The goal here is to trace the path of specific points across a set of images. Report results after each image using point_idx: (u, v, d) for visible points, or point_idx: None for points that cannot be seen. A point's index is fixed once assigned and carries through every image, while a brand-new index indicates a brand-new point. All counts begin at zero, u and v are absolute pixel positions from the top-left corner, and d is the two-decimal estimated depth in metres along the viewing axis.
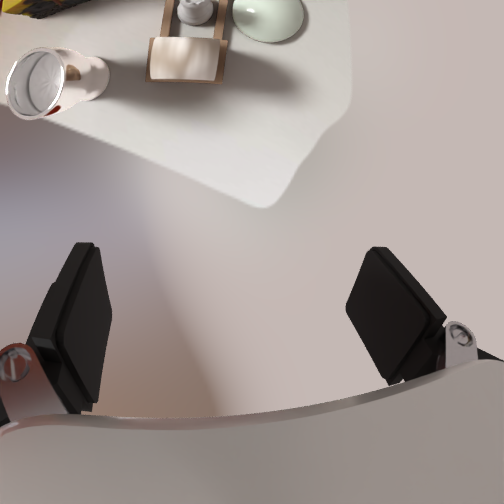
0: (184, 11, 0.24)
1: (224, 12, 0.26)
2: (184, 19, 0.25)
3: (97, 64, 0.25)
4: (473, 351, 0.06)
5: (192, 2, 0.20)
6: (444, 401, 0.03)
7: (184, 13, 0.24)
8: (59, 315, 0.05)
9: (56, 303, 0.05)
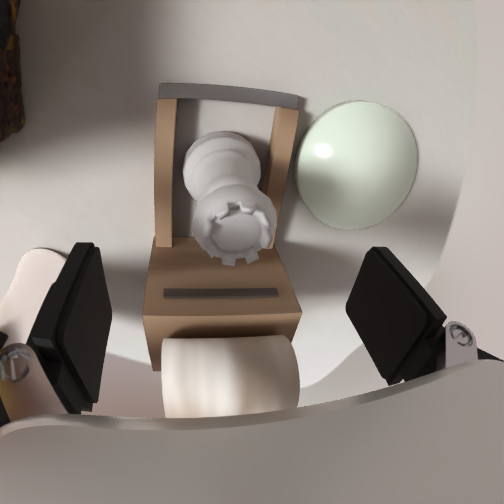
0: None
1: (283, 180, 0.17)
2: None
3: None
4: (473, 351, 0.06)
5: (230, 257, 0.11)
6: (444, 401, 0.03)
7: None
8: (59, 315, 0.05)
9: (56, 303, 0.05)
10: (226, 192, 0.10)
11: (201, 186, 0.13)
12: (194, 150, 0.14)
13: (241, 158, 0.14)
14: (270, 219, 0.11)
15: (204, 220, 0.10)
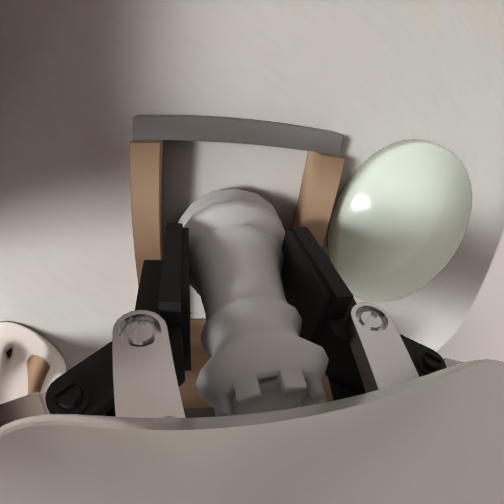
0: None
1: None
2: None
3: (31, 376, 0.12)
4: (393, 331, 0.07)
5: None
6: (444, 401, 0.03)
7: None
8: (181, 281, 0.07)
9: (173, 272, 0.07)
10: (254, 354, 0.06)
11: (204, 293, 0.09)
12: (190, 223, 0.10)
13: (262, 240, 0.10)
14: (321, 379, 0.06)
15: (217, 393, 0.06)
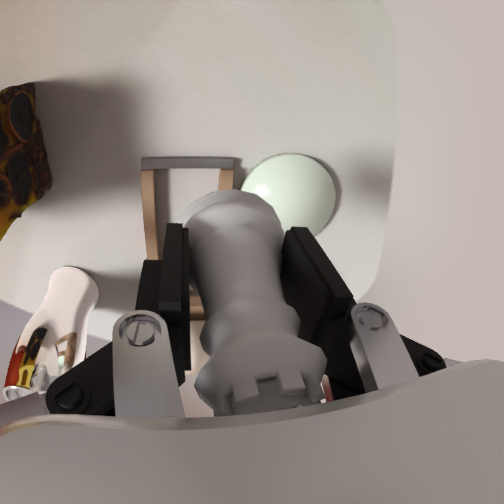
0: None
1: None
2: None
3: (80, 294, 0.25)
4: (393, 331, 0.07)
5: None
6: (444, 401, 0.03)
7: None
8: (181, 281, 0.07)
9: (173, 272, 0.07)
10: (253, 355, 0.06)
11: (203, 294, 0.09)
12: (190, 223, 0.10)
13: (261, 241, 0.10)
14: (320, 379, 0.06)
15: (216, 393, 0.06)
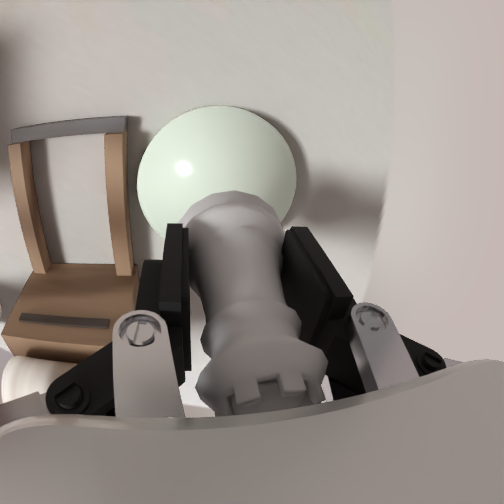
0: None
1: (121, 207, 0.15)
2: None
3: None
4: (393, 331, 0.07)
5: None
6: (444, 401, 0.03)
7: None
8: (181, 281, 0.07)
9: (173, 272, 0.07)
10: (255, 357, 0.06)
11: (204, 296, 0.09)
12: (190, 225, 0.10)
13: (262, 242, 0.10)
14: (321, 381, 0.06)
15: (217, 396, 0.06)
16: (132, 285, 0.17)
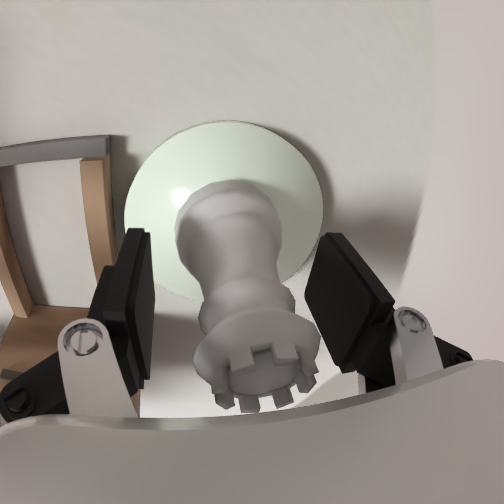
0: None
1: (106, 251, 0.12)
2: None
3: None
4: (429, 336, 0.06)
5: (253, 404, 0.07)
6: (444, 401, 0.03)
7: None
8: (128, 290, 0.06)
9: (122, 280, 0.07)
10: (248, 327, 0.06)
11: (202, 277, 0.09)
12: (189, 212, 0.10)
13: (258, 227, 0.10)
14: (313, 354, 0.07)
15: (213, 366, 0.06)
16: None
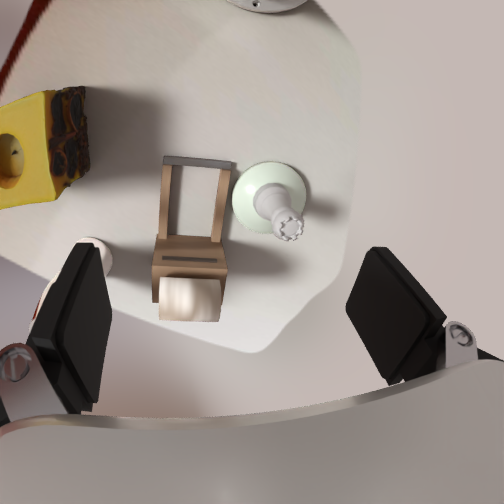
0: (266, 215, 0.32)
1: (223, 205, 0.34)
2: (262, 217, 0.34)
3: None
4: (473, 351, 0.06)
5: (286, 237, 0.28)
6: (444, 401, 0.03)
7: (264, 215, 0.32)
8: (59, 315, 0.05)
9: (56, 303, 0.05)
10: (287, 212, 0.28)
11: (269, 209, 0.31)
12: (262, 191, 0.32)
13: (285, 197, 0.32)
14: None
15: (278, 222, 0.28)
16: (222, 246, 0.35)
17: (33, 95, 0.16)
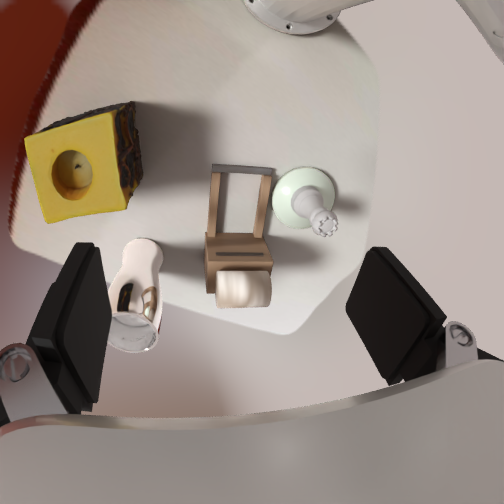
0: (303, 214, 0.37)
1: (265, 206, 0.39)
2: (299, 215, 0.39)
3: (154, 257, 0.38)
4: (473, 351, 0.06)
5: (324, 234, 0.33)
6: (444, 401, 0.03)
7: (302, 214, 0.38)
8: (59, 314, 0.05)
9: (56, 303, 0.05)
10: (324, 213, 0.33)
11: (307, 209, 0.36)
12: (299, 194, 0.37)
13: (319, 198, 0.37)
14: (336, 221, 0.33)
15: (318, 221, 0.33)
16: (264, 241, 0.41)
17: (100, 116, 0.21)
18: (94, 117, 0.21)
